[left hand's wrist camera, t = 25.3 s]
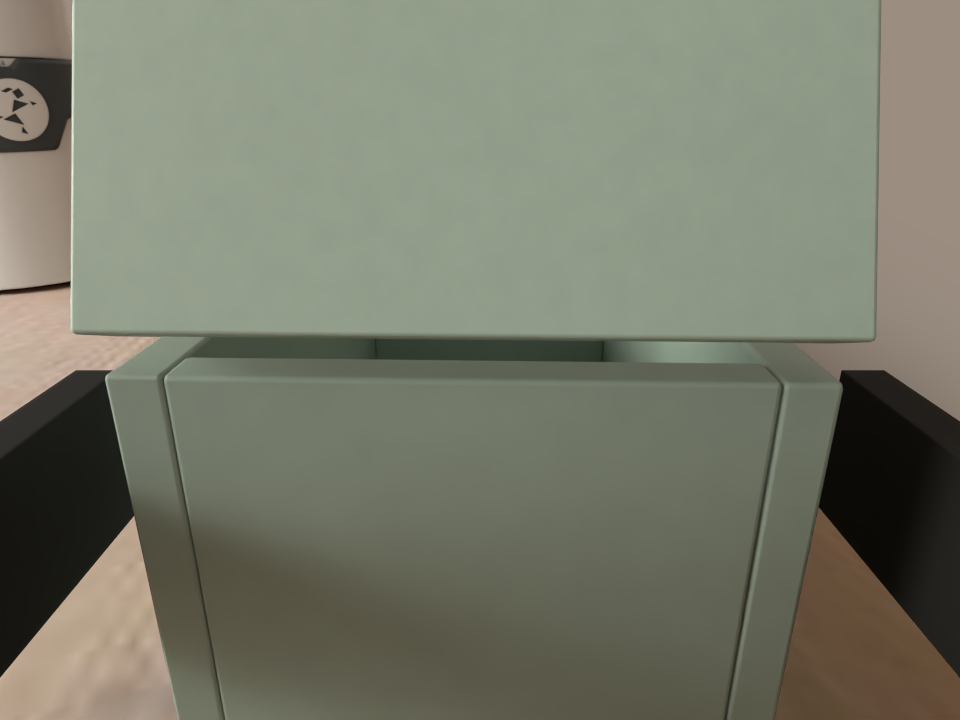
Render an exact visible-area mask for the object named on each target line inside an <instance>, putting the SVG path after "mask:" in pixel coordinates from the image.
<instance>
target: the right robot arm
mask: <svg viewBox="0 0 960 720" xmlns="http://www.w3.org/2000/svg"><path fill="white" fill-rule="evenodd" d="M71 152H72V34H71V29H70V24H69V18H68V13H67V8H66V3H65V0H0V290H7V289H18V288H27V287H36V286H44V285H51V284H57V283H64V282H70V281H71Z"/></svg>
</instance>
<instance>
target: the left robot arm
mask: <svg viewBox="0 0 960 720" xmlns="http://www.w3.org/2000/svg"><path fill="white" fill-rule="evenodd" d="M112 371H113V370H76V371H74V372H73V373H71V374H70V375H68V376H67V377H65V378H64V379H62V380H61V381H60V382H58V383H57V384H55V385H54V386H52V387H51V388H49V389H48V390H46V391H45V392H43V393H42V394H40V395H39V396H37V397H36V398H34V399H33V400H31V401H30V402H28V403H27V404H25V405H24V406H22V407H21V408H20V409H18V410H17V411H15V412H14V413H12V414H11V415H9V416H8V417H6V418H5V419H3V420H2V421H0V677H1V676H2V675H3V673H4V672H5V671H6V670H7V669H8V667H9V666H10V665H11V664H12V663H13V661H14V660H15V659H16V658H17V657H18V655H19V654H20V653H21V652H22V651H23V649H24V648H25V647H26V646H27V644H28V643H29V642H30V641H31V640H32V638H33V637H34V636H35V635H36V634H37V632H38V631H39V630H40V629H41V628H42V626H43V625H44V624H45V623H46V621H47V620H48V619H49V618H50V617H51V615H52V614H53V613H54V612H55V611H56V609H57V608H58V607H59V606H60V605H61V603H62V602H63V601H64V600H65V599H66V597H67V596H68V595H69V594H70V592H71V591H72V590H73V589H74V588H75V586H76V585H77V584H78V583H79V582H80V580H81V579H82V578H83V577H84V576H85V574H86V573H87V572H88V571H89V570H90V568H91V567H92V566H93V565H94V563H95V562H96V561H97V560H98V559H99V557H100V556H101V555H102V554H103V553H104V551H105V550H106V549H107V548H108V547H109V545H110V544H111V543H112V542H113V541H114V539H115V538H116V537H117V536H118V534H119V533H120V532H121V531H122V530H123V528H124V527H125V526H126V525H127V524H128V522H129V521H130V520H131V519H132V518H133V516H134V512H133V507H132V502H131V498H130V493H129V488H128V484H127V479H126V474H125V470H124V465H123V460H122V456H121V451H120V446H119V442H118V437H117V432H116V428H115V423H114V419H113V414H112V409H111V405H110V400H109V395H108V391H107V386H106V381H105V378H106V375H107V374H109V373H110V372H112ZM839 382H840V383H842V387H843V392H842V396H841V401H840V406H839V411H838V416H837V420H836V425H835V430H834V435H833V440H832V444H831V449H830V454H829V459H828V464H827V468H826V473H825V478H824V483H823V488H822V492H821V497H820V502H819V508H820V509H821V510H822V511H823V513H824V514H825V515H826V516H827V518H828V519H829V520H830V521H831V522H832V524H833V525H834V526H835V527H836V528H837V530H838V531H839V532H840V533H841V534H842V536H843V537H844V538H845V539H846V541H847V542H848V543H849V544H850V545H851V547H852V548H853V549H854V550H855V551H856V553H857V554H858V555H859V556H860V557H861V559H862V560H863V561H864V562H865V563H866V565H867V566H868V567H869V568H870V570H871V571H872V572H873V573H874V574H875V576H876V577H877V578H878V579H879V580H880V582H881V583H882V584H883V585H884V586H885V588H886V589H887V590H888V591H889V592H890V594H891V595H892V596H893V597H894V599H895V600H896V601H897V602H898V603H899V605H900V606H901V607H902V608H903V609H904V611H905V612H906V613H907V614H908V615H909V617H910V618H911V619H912V620H913V621H914V623H915V624H916V625H917V626H918V628H919V629H920V630H921V631H922V632H923V634H924V635H925V636H926V637H927V638H928V640H929V641H930V642H931V643H932V644H933V646H934V647H935V648H936V649H937V650H938V652H939V653H940V654H941V655H942V657H943V658H944V659H945V660H946V661H947V663H948V664H949V665H950V666H951V667H952V669H953V670H954V671H955V672H956V673H957V675H958V676H959V677H960V421H958V420H957V419H955V418H954V417H952V416H951V415H949V414H948V413H946V412H945V411H943V410H942V409H940V408H939V407H938V406H936V405H935V404H933V403H932V402H930V401H929V400H927V399H926V398H924V397H923V396H921V395H920V394H918V393H917V392H915V391H914V390H912V389H911V388H909V387H908V386H906V385H905V384H903V383H902V382H900V381H899V380H898V379H896V378H895V377H893V376H892V375H890V374H889V373H887V372H886V371H884V370H842V371H841V376H840V381H839Z"/></svg>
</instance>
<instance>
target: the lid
mask: <svg viewBox="0 0 960 720" xmlns="http://www.w3.org/2000/svg"><path fill="white" fill-rule="evenodd" d="M880 48H881V0H72V152H71V331H72V332H73V333H75V334H81V335H102V336H143V337H244V338H345V339H446V340H547V341H648V342H749V343H857V342H871V341H874V340H875V338H876V309H877V245H878V179H879V113H880Z"/></svg>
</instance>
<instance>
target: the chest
mask: <svg viewBox="0 0 960 720" xmlns="http://www.w3.org/2000/svg"><path fill="white" fill-rule="evenodd" d="M105 381H106V386H107V391H108V395H109V400H110V405H111V409H112V414H113V419H114V423H115V428H116V432H117V437H118V442H119V446H120V451H121V456H122V460H123V465H124V470H125V474H126V479H127V484H128V488H129V493H130V498H131V502H132V507H133V512H134V516H135V521H136V526H137V530H138V535H139V540H140V544H141V549H142V554H143V558H144V563H145V568H146V572H147V577H148V581H149V586H150V591H151V595H152V600H153V605H154V609H155V614H156V619H157V623H158V628H159V633H160V637H161V642H162V647H163V651H164V656H165V661H166V665H167V670H168V675H169V679H170V684H171V689H172V693H173V698H174V703H175V707H176V712H177V716H178V720H774V718H775V714H776V709H777V704H778V699H779V694H780V690H781V685H782V680H783V675H784V670H785V666H786V661H787V656H788V651H789V646H790V642H791V637H792V632H793V627H794V622H795V617H796V613H797V608H798V603H799V598H800V593H801V589H802V584H803V579H804V574H805V569H806V565H807V560H808V555H809V550H810V545H811V541H812V536H813V531H814V526H815V521H816V517H817V512H818V507H819V502H820V497H821V492H822V488H823V483H824V478H825V473H826V468H827V464H828V459H829V454H830V449H831V444H832V440H833V435H834V430H835V425H836V420H837V416H838V411H839V406H840V401H841V396H842V392H843V387H842V383H840V382H839V381H838V380H837V379H836V378H834V377H833V376H832V375H831V374H830V373H829V372H827V371H826V370H825V369H824V368H823V367H821V366H820V365H819V364H818V363H817V362H816V361H814V360H813V359H812V358H811V357H810V356H808V355H807V354H806V353H805V352H804V351H803V350H801V349H800V348H799V347H798V346H797V345H795V344H794V343H749V342H648V341H547V340H446V339H345V338H244V337H160V338H159V339H157V340H156V341H154V342H153V343H152V344H150V345H149V346H147V347H146V348H144V349H143V350H142V351H140V352H139V353H137V354H136V355H134V356H133V357H132V358H130V359H129V360H127V361H126V362H124V363H123V364H122V365H120V366H119V367H117V368H116V369H115V370H113V371H112V372H110V373H109V374H107V375H106V378H105Z"/></svg>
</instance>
